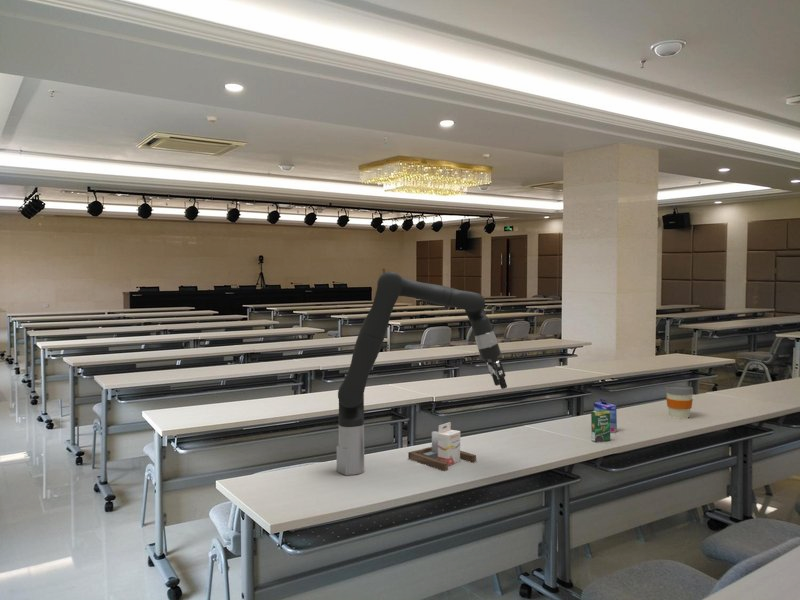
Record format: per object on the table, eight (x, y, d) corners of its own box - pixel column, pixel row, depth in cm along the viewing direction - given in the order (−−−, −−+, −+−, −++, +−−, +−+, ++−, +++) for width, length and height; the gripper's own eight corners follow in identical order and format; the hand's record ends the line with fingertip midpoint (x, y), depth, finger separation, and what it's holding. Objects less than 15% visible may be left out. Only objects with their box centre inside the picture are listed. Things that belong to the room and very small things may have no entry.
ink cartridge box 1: (448, 466, 224) (448, 427, 223) (437, 464, 227) (437, 425, 226) (461, 461, 230) (460, 423, 230) (450, 458, 234) (450, 421, 233)
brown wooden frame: (444, 471, 219) (444, 464, 219) (408, 458, 234) (408, 452, 234) (476, 461, 230) (476, 455, 229) (440, 450, 245) (440, 444, 245)
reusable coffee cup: (698, 419, 294) (698, 389, 294) (672, 420, 294) (672, 389, 294) (685, 414, 307) (685, 384, 306) (661, 414, 307) (661, 385, 306)
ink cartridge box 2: (593, 428, 279) (593, 397, 279) (602, 427, 281) (602, 396, 281) (607, 433, 270) (607, 401, 270) (617, 432, 272) (617, 400, 272)
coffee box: (594, 442, 255) (594, 412, 254) (590, 441, 257) (590, 410, 257) (610, 441, 257) (611, 410, 257) (606, 439, 260) (606, 409, 259)
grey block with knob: (427, 461, 229) (427, 435, 229) (421, 459, 232) (421, 434, 231) (450, 455, 237) (450, 430, 236) (444, 453, 239) (444, 429, 239)
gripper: (473, 346, 227) (486, 387, 228) (482, 349, 213) (496, 392, 214) (492, 340, 228) (505, 380, 229) (502, 342, 214) (516, 385, 214)
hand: (501, 386), depth 221 cm, fingers open, 8 cm apart
